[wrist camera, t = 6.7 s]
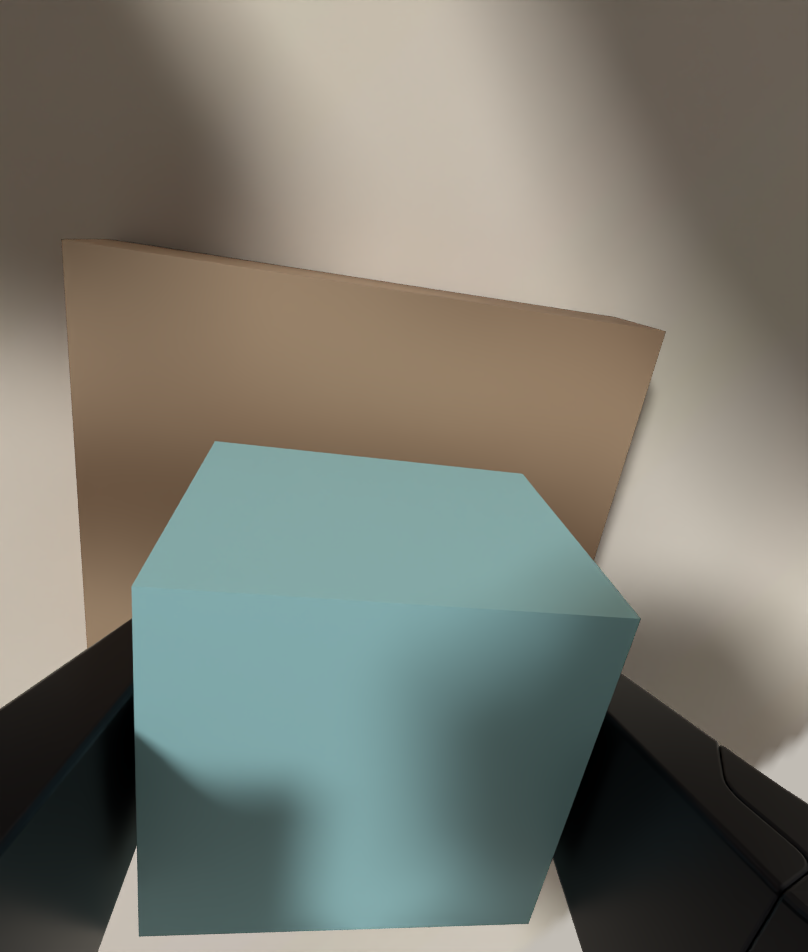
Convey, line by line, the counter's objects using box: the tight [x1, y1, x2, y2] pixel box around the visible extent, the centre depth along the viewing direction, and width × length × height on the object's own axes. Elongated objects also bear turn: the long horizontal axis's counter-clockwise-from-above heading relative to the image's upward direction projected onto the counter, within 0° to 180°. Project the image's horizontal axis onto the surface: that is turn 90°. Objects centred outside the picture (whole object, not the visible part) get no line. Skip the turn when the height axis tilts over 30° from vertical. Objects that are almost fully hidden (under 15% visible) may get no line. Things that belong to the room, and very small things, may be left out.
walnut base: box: [61, 239, 666, 649], centre depth 12 cm, size 10×10×2 cm
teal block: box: [131, 441, 641, 936], centre depth 8 cm, size 5×5×4 cm
